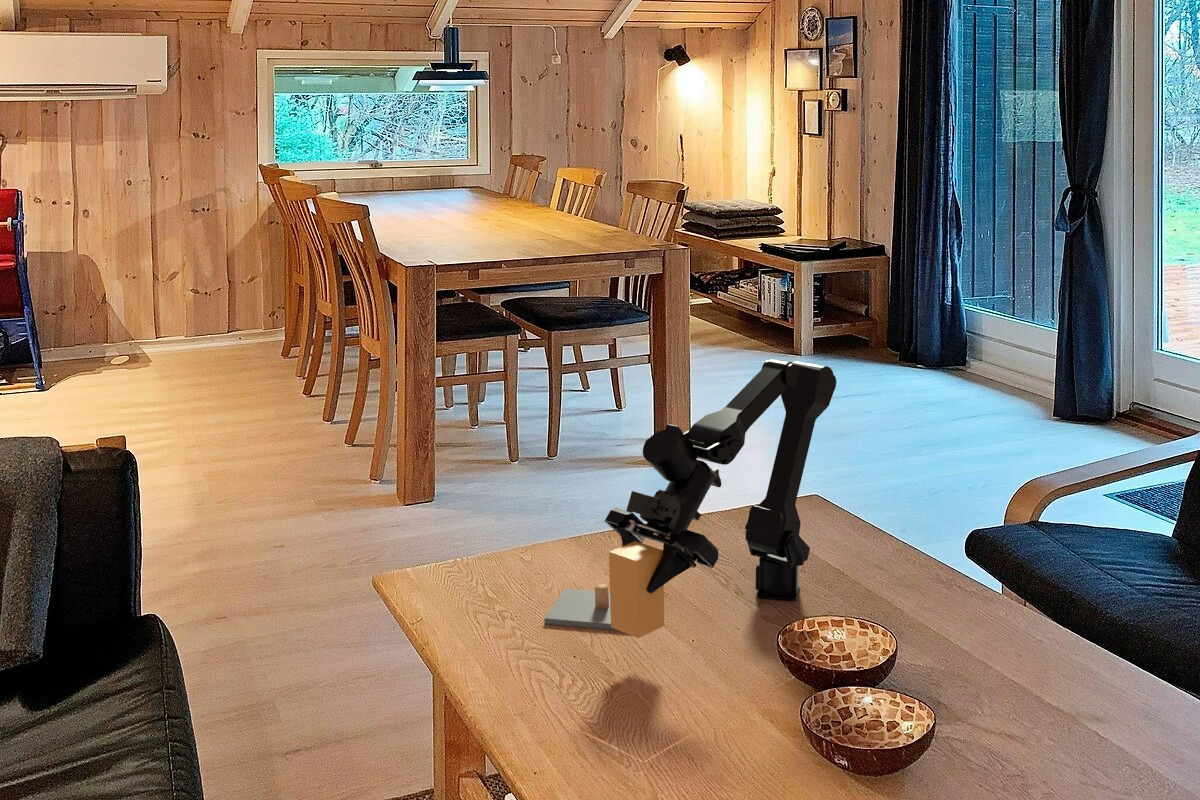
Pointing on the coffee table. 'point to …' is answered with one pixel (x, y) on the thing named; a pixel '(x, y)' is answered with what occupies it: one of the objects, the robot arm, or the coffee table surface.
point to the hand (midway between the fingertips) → (634, 586)
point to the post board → (582, 609)
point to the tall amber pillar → (635, 589)
